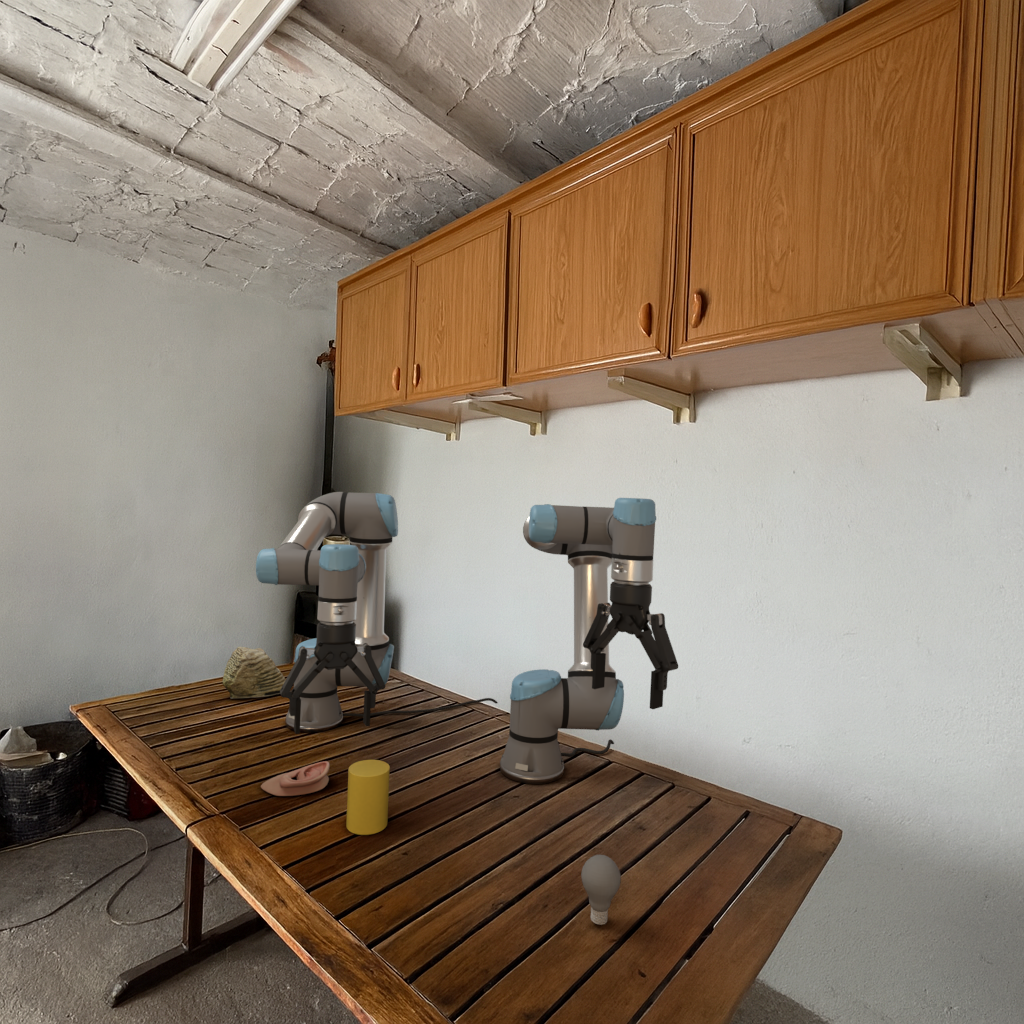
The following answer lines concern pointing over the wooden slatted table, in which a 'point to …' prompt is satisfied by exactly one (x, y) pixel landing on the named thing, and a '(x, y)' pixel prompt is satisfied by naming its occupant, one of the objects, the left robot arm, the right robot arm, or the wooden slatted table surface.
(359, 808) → the canister
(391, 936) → the wooden slatted table surface
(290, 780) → the anatomical model
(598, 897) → the light bulb
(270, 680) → the fossil
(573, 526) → the right robot arm
